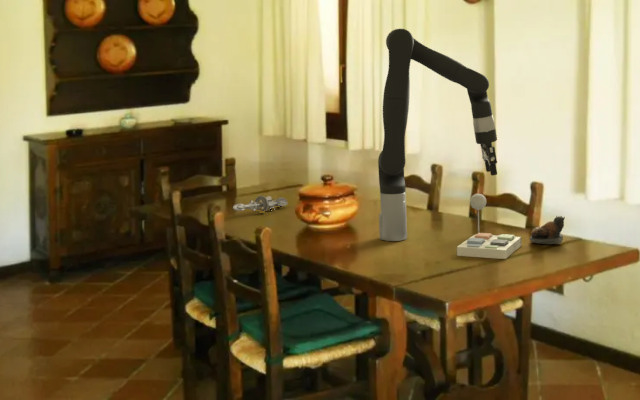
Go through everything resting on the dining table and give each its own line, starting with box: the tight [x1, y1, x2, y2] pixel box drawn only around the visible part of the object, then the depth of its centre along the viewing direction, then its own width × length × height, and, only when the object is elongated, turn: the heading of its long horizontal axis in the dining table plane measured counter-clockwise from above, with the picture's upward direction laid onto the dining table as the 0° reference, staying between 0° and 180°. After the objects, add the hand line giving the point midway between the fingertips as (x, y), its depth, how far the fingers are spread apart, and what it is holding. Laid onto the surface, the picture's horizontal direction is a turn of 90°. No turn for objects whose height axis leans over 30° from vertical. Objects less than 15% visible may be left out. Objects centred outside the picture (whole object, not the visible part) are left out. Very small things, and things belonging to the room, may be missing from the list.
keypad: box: [456, 233, 522, 260], centre depth 303 cm, size 16×20×3 cm
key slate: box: [467, 237, 485, 245], centre depth 303 cm, size 5×5×2 cm
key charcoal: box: [490, 239, 508, 246], centre depth 299 cm, size 5×5×2 cm
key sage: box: [497, 233, 515, 241], centre depth 306 cm, size 5×5×2 cm
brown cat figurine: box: [529, 215, 565, 245], centre depth 308 cm, size 12×7×10 cm, turn 56°
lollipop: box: [469, 193, 487, 234], centre depth 327 cm, size 6×6×15 cm
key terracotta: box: [474, 232, 493, 240], centre depth 310 cm, size 5×5×2 cm
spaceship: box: [232, 195, 289, 212], centre depth 386 cm, size 8×35×8 cm
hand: (491, 173), depth 324 cm, fingers open, 8 cm apart
